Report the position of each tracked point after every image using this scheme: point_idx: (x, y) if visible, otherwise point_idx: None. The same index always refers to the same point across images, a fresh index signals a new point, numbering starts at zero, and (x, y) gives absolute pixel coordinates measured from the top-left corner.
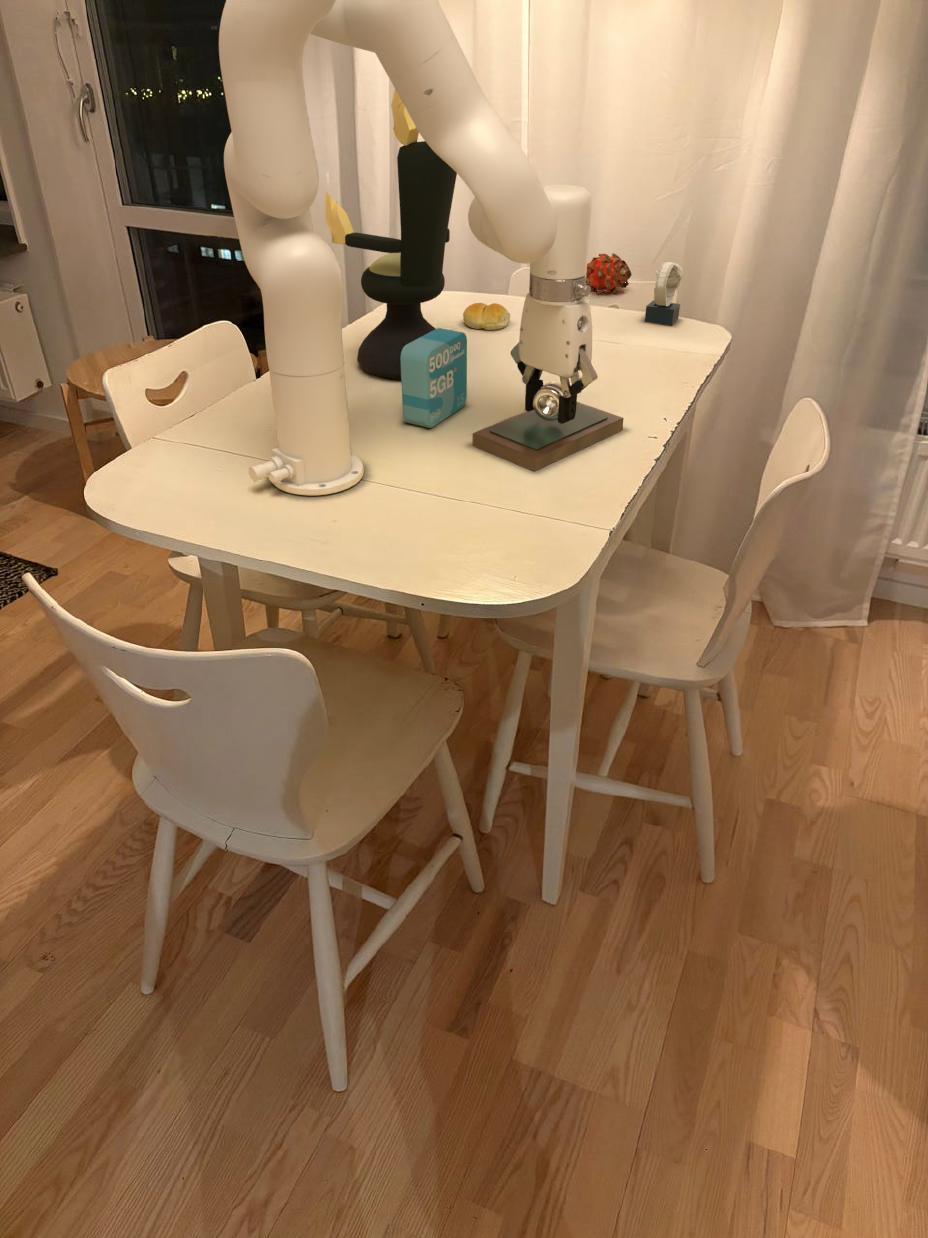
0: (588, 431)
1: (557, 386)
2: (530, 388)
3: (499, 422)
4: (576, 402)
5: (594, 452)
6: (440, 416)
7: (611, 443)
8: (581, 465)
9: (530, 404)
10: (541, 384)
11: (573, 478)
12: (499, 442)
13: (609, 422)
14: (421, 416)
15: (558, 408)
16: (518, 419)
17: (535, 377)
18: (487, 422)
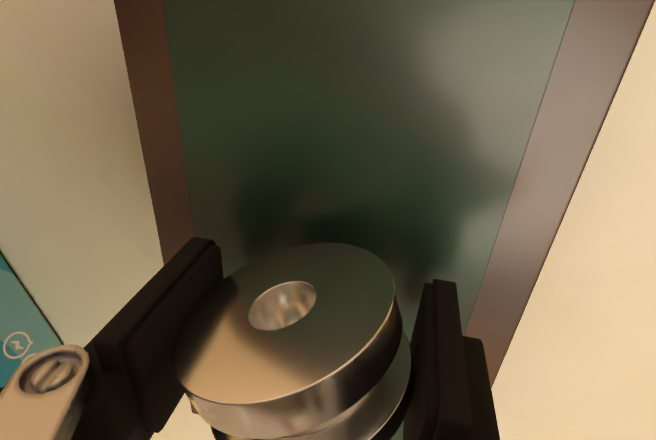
0: (536, 229)
1: (292, 427)
2: (163, 423)
3: None
4: (493, 404)
5: (586, 247)
6: (23, 322)
7: (641, 114)
8: (577, 356)
9: None
10: (146, 351)
11: (587, 429)
12: None
13: (620, 30)
14: None
15: (403, 424)
16: None
17: (97, 430)
18: (100, 237)
